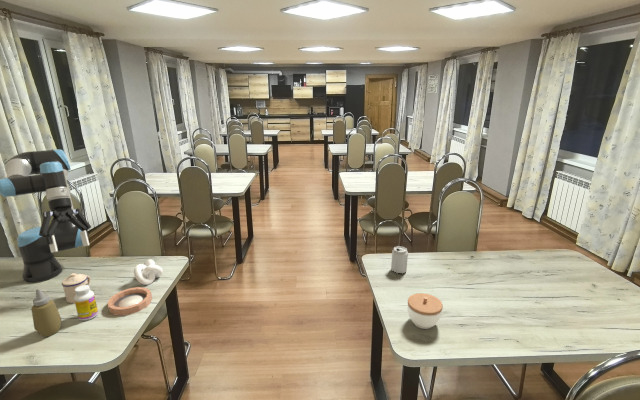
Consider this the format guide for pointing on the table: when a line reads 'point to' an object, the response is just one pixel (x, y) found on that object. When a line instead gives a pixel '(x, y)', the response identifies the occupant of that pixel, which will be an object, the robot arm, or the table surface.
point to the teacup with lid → (74, 285)
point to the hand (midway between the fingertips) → (71, 248)
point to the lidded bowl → (424, 310)
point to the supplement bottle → (85, 303)
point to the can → (399, 259)
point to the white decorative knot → (147, 272)
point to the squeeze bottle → (45, 315)
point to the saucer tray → (130, 301)
